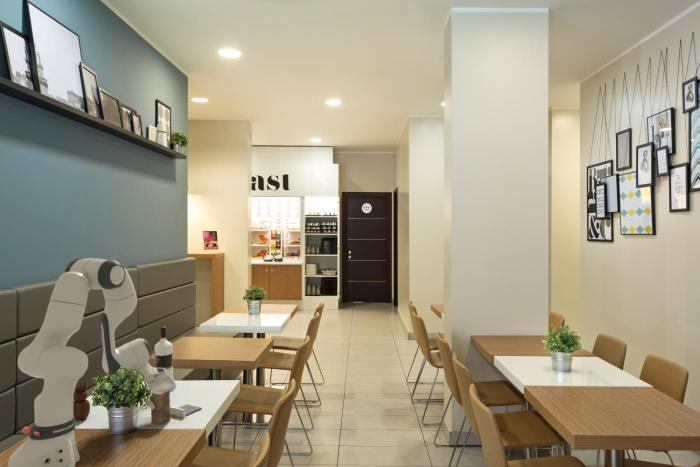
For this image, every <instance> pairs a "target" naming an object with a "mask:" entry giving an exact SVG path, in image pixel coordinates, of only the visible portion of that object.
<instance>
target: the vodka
mask: <svg viewBox="0 0 700 467" xmlns="http://www.w3.org/2000/svg"><path fill="white" fill-rule="evenodd" d="M159 332H160V338H159V341H158V342H157V343H155V345H154V347H153V348H154V349H153V350H154V368H165V369H166V373H167V374H169V375H170V376H171V378H172V379H173V380H174V381H175V378H174V367H173V365H174V362H173V360H174V359H173V350H174V346H173V343H172V342H170V341H169V340H167V327H166V326H161V327H160V331H159Z"/></svg>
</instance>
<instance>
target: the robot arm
mask: <svg viewBox="0 0 700 467" xmlns="http://www.w3.org/2000/svg"><path fill="white" fill-rule="evenodd" d="M91 290H102V293H103V294H102V295H103V298H104V303H105V304H104V310H103V312H102V314H100V316H99V333H100V343H101V344H100V345H101V365H102V369H103V370H104V372H105V374H107V375H108V374H109V375H108V376H111V375H112V374H115V373H117V370H119V368H120V367H122V368H126V369H128V368H129V369H130V368H132V367H134V368H135V369H136V370H138V371H140V372H141V373H142V374H143V375H144V377H145V378H144V384H145V383H147V384H148V388H149V389H151V391H152V392H154V391H157V390H160V389H164V390H169V391H170V393H172V392H174V391H175V389H176V388H177V384H176V381H175V379H174V378H173V379H174V380H173V379H172V378H171V376H170V375H169V374H167V373H166V369H165V368H155V366H154V367H153V366H152V365H151V364H150V363H149V362H148V361H150V359H151V357H152V355H153V352H154V351H153V350H154V349H153V348H152V346H151V344H150V343H149V341H148V340H147V339H145V338H143V337H139V338H136V339H134V340H132V341H129V342H126V343H124V344H122V345H121V346H119V347H116V342H115V331H116V329H117V328H118V327H119V325H120V324H121V323H122V322H124V320H126V319H127V318H128V317H129V316H130V315H131V314H132V313H133V312H134V311H135V309H136V308H137V305H138V297H137V291H136V289H135V285H134V282H133V280H132V278H131V276H130V273H129V272H128V270H127V269H126V268H125V267H124V266H123V265H122V263H120V262H119V261H117V260H113V259H104V258H103V259H102V258H96V257H89V258H87V257H86V258H84V257H83V258H81V257H80V258H76V259H73V260H71V261H70V262H69V263H68V264H67V265H66V267H65V269H64V273H62V274H61V275H60V276H59V277H58V279H57V280H56V282H55V285H54V288H53V290H52V293H51V295H50V299H49V302H48V306H47V309H46V313H45V316H44V320H43V323H42V325H41V327H40V330H39V331H38V333H37V334H36V336H35V337H34V339H33V340H32V342H31V343H30V344H29V345H28V346H26V347H25V348H24V349H22V350H21V352H20V353H19V354H18V358H17V367H18V369H19V370H20V371H21V372H22V373H24V374H26V375H28V376H29V377H32V378H38V379H43V382H44V383H43V388H42V390H41V393H40V394H38V395H37V396H36V397H35V399H34V402H33V403H34V406H33V407H34V423H33V425H32V427H31V428H30V427H28V426H24V427H23V428H22V430H21V432H22V433H23V434H25V435H28V438H26V440H25V441H24V442H23V443H22V444H21V445H20V446H19V447H18V448H17V449H16V450H15V451H14V452H12V454H10V456H9V459H8V463H7V467H76V464H77V463H78V462H79V461H80V458H81V455H80V453H79V450H78V447H77V443H76V442H77V441H76V436H75V430H76V420H75V417H74V416H73V402H74V394H75V390H76V386H77V383H78V381H79V380H80V379H81V378H82V377H83V376H84V375H85V374H86V371H87V370H88V368H89V357H88V355H87V354H86V353H85V351H82V350H80V349H78V348H75V347H73V346H67V343H68V342H69V340H70V339H71V337H72V336H73V335H74V334H75V333H77V332H79V331H80V329H81V326H82V324H83V323H82V322H83V319H84V315H85V311H86V307H87V304H88V297H89V292H90V291H91ZM120 369H121V368H120ZM151 397H152V395H151V396H150V398H149V400H148V401H144V402H143V403H144V404H145V405H146V406H148V407H149V408H150V410H151V409H152V410H153V409H156V408H157V405H156V403H152V402H151ZM76 462H77V463H76Z"/></svg>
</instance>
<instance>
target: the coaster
mask: <svg viewBox="0 0 700 467" xmlns="http://www.w3.org/2000/svg"><path fill="white" fill-rule="evenodd" d="M178 408H180V409H184V410H185V417H186V416H189V415H191V414H193V413H196V412H198V411H201V410H202V407H200V406H195V405H192V404H191V405H190V404H188V403H187V404H184V405H182V406H179V407H178Z"/></svg>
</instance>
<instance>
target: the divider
mask: <svg viewBox="0 0 700 467" xmlns="http://www.w3.org/2000/svg"><path fill="white" fill-rule="evenodd" d="M170 416H175V417H179V418H183V419H184V418H185V417H186V416H185V410H184V409H180V408H179V407H175V406H171V405H170Z"/></svg>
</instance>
